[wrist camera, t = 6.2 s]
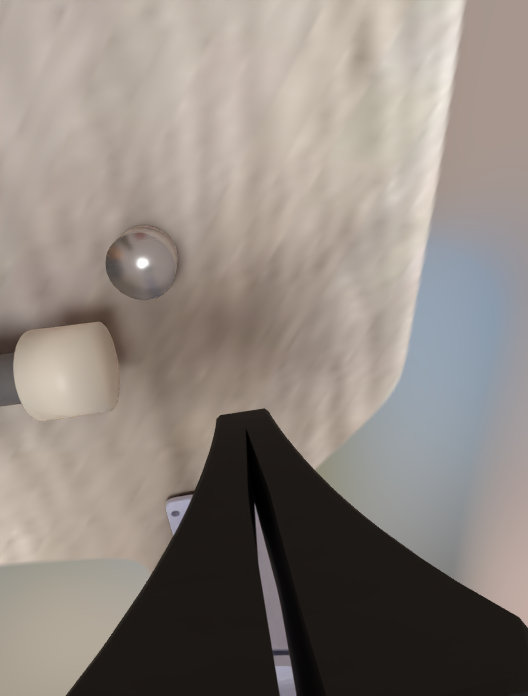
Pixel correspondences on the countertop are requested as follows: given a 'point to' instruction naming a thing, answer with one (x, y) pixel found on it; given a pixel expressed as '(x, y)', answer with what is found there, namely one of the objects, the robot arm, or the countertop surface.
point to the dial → (142, 262)
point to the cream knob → (62, 372)
